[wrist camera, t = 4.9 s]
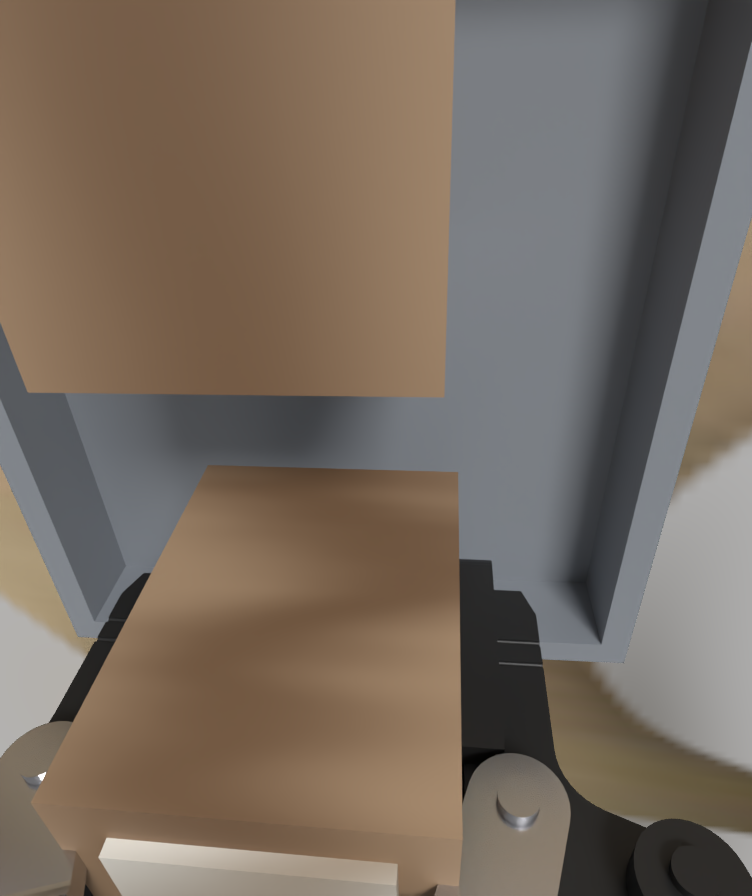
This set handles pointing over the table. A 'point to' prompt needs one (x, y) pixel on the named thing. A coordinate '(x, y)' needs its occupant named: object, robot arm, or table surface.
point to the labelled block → (279, 698)
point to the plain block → (226, 195)
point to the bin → (485, 330)
